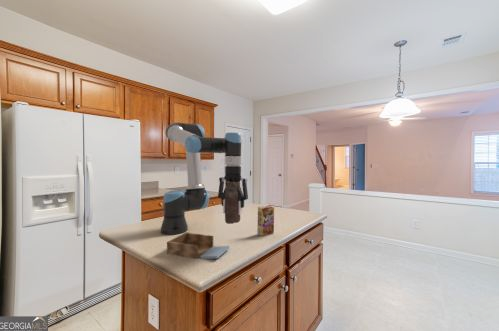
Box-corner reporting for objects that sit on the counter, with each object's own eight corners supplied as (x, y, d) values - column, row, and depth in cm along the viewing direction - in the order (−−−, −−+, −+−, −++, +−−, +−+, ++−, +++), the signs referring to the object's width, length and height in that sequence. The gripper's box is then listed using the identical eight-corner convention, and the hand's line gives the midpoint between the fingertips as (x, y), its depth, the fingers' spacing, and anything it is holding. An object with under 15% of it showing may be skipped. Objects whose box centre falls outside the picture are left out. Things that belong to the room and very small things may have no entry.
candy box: (261, 236, 125) (261, 208, 125) (257, 234, 129) (257, 207, 128) (274, 233, 130) (274, 206, 129) (269, 231, 133) (269, 205, 133)
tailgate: (198, 256, 96) (216, 255, 93) (212, 246, 107) (229, 245, 104) (198, 259, 96) (217, 258, 93) (212, 248, 107) (230, 248, 104)
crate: (167, 255, 100) (166, 242, 100) (186, 244, 113) (186, 232, 113) (196, 260, 95) (196, 246, 95) (213, 248, 108) (213, 235, 108)
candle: (225, 219, 113) (225, 179, 113) (240, 219, 114) (240, 179, 113) (224, 224, 106) (225, 181, 105) (240, 224, 106) (241, 181, 106)
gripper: (210, 165, 109) (210, 213, 110) (250, 166, 102) (249, 217, 103) (217, 164, 116) (217, 209, 117) (255, 165, 109) (255, 213, 110)
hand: (232, 213), depth 110 cm, fingers closed on candle, 7 cm apart
